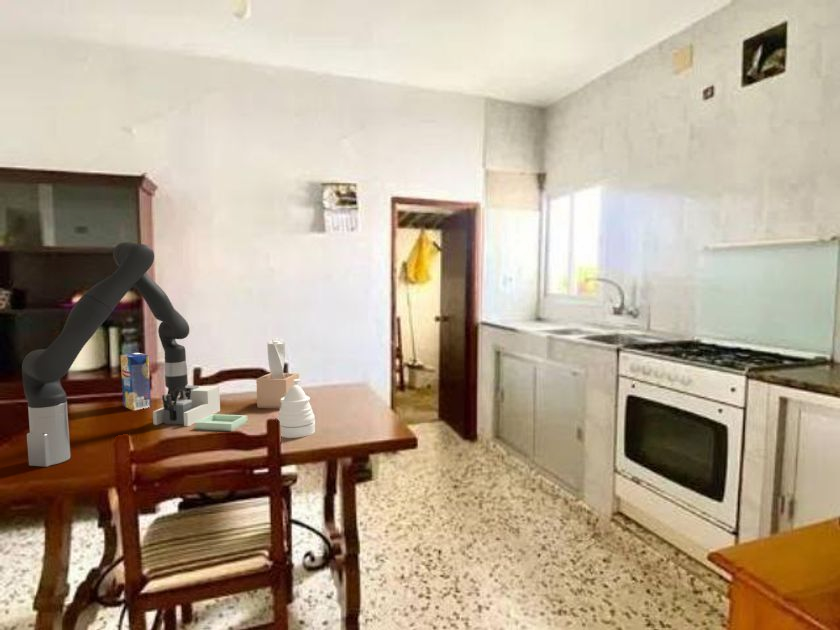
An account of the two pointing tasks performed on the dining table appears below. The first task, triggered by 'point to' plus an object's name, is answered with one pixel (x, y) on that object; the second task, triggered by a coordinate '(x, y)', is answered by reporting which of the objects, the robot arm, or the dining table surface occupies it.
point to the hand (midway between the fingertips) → (178, 418)
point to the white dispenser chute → (196, 405)
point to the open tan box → (273, 390)
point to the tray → (221, 422)
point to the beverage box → (135, 381)
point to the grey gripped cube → (178, 412)
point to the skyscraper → (276, 358)
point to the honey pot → (296, 413)
